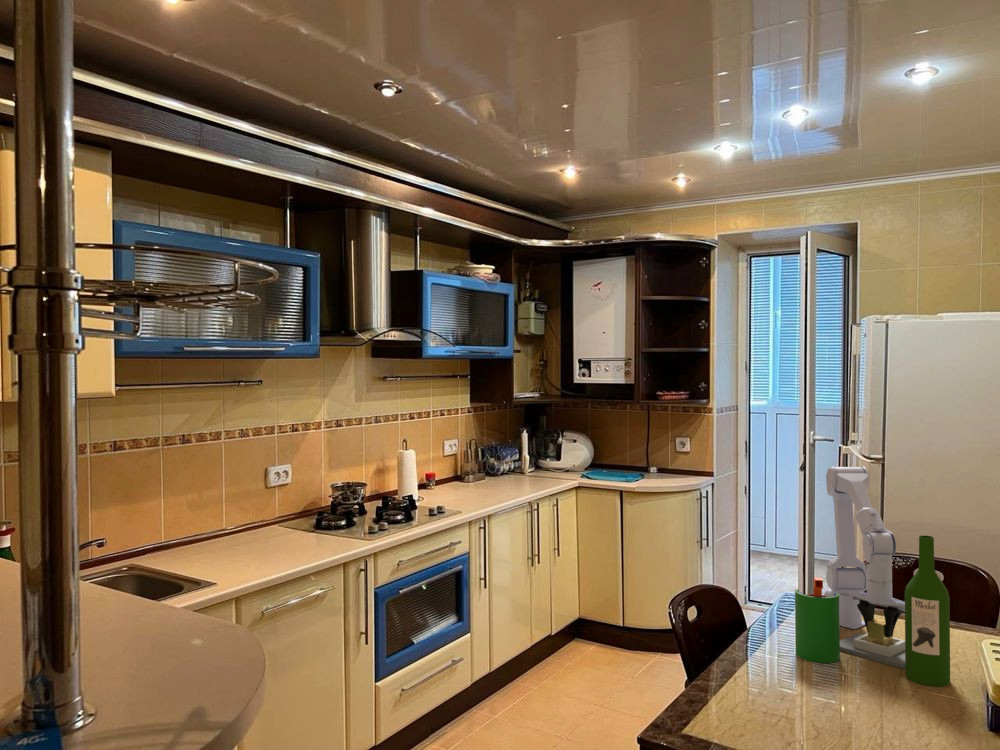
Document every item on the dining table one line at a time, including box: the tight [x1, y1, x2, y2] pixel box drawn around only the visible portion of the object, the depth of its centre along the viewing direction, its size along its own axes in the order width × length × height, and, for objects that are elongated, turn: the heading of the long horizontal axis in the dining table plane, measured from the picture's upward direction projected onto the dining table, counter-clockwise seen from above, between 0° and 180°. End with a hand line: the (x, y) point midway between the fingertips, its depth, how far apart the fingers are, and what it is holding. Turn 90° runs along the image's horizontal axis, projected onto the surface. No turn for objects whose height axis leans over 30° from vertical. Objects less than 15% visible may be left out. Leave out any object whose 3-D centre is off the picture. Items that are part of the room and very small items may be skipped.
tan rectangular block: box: [867, 617, 894, 646], centre depth 191 cm, size 4×5×6 cm
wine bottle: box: [904, 535, 951, 688], centre depth 173 cm, size 9×9×32 cm
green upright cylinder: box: [794, 576, 841, 664], centre depth 188 cm, size 10×9×20 cm
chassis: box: [840, 632, 905, 670], centre depth 191 cm, size 18×14×3 cm
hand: (879, 634), depth 191 cm, fingers open, 4 cm apart
